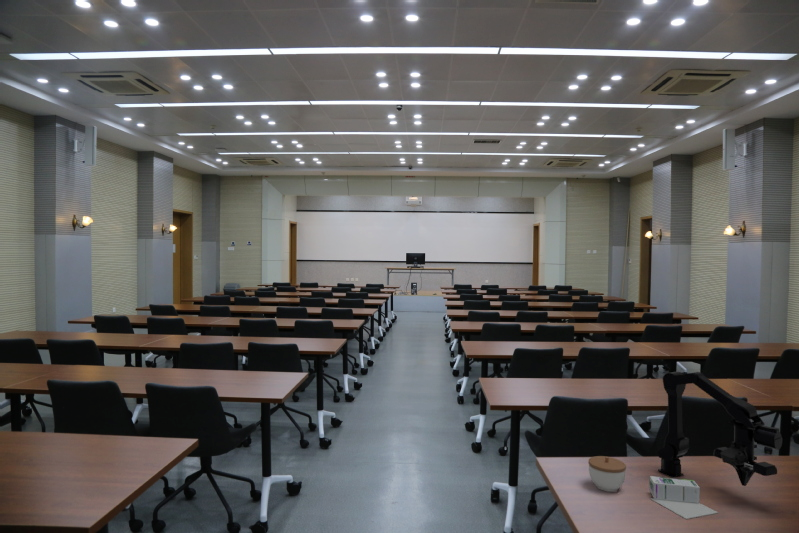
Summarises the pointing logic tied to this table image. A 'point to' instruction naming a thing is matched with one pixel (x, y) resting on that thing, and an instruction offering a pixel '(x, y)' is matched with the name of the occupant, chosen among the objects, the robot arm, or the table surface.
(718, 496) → the table surface
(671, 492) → the syrup box
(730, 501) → the table surface
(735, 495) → the table surface
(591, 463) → the lidded bowl
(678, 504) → the mat
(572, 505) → the table surface
